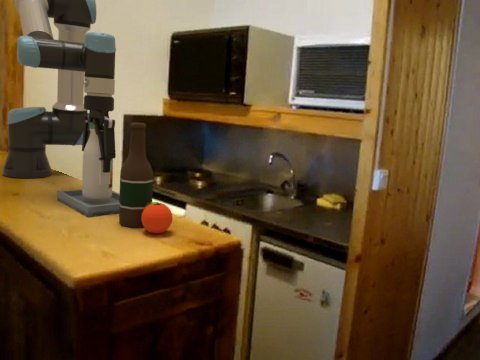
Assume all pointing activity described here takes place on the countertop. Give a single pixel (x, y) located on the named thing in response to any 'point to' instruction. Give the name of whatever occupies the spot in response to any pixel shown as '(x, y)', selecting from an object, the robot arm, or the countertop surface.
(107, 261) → the countertop surface
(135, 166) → the beer bottle
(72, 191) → the slate tray
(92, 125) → the milk bottle
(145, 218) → the tomato
